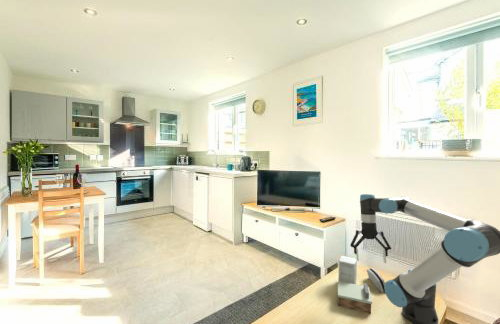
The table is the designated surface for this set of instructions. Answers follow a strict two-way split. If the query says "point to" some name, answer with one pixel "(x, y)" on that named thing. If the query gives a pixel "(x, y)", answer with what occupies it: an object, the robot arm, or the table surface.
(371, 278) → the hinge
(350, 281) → the supplement box
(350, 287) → the lid
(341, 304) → the brown wooden box
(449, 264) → the robot arm
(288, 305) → the table surface
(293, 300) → the table surface
